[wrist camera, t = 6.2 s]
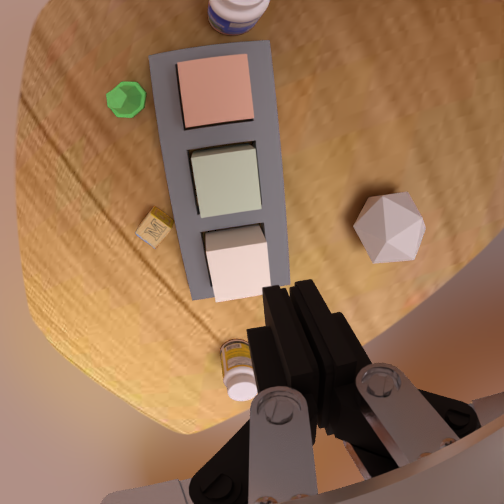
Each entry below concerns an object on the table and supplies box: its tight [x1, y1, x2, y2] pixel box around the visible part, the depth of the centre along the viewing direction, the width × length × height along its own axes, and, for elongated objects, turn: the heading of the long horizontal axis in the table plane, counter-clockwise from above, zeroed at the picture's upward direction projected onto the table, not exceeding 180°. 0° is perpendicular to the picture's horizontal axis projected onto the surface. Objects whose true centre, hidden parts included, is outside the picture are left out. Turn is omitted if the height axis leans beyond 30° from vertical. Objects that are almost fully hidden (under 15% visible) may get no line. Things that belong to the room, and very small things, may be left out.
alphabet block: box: [135, 206, 174, 249], centre depth 35 cm, size 3×3×3 cm
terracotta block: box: [177, 54, 254, 128], centre depth 27 cm, size 6×6×5 cm
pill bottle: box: [208, 0, 270, 35], centre depth 23 cm, size 5×5×10 cm
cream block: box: [206, 224, 271, 302], centre depth 35 cm, size 6×6×5 cm
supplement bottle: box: [220, 339, 257, 401], centre depth 43 cm, size 5×5×8 cm
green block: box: [191, 143, 262, 218], centre depth 32 cm, size 6×6×5 cm
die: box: [353, 192, 426, 263], centre depth 37 cm, size 8×9×10 cm
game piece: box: [106, 82, 147, 118], centre depth 27 cm, size 4×4×6 cm
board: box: [149, 40, 290, 300], centre depth 34 cm, size 28×12×3 cm, turn 6°
